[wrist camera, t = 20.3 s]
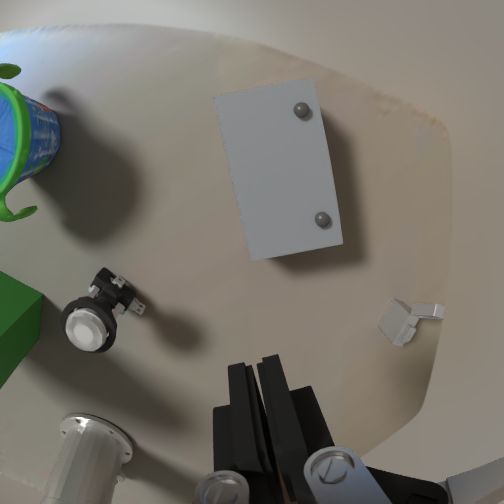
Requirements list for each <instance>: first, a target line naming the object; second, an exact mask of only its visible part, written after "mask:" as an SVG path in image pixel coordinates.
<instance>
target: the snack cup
mask: <svg viewBox="0 0 504 504" xmlns="http://www.w3.org/2000/svg"><path fill="white" fill-rule="evenodd" d="M20 72H21V68H20V67H19V66H17V65H13V64H7V63H2V64H0V78H2V79H11V78H13V77H15V76H17V75H18V74H19V73H20ZM60 133H61V132H60V127H59V123H58V120H57V116H56V115H55V113H54V112H53V111H51V110H50V109H49V108H48V107H46V106H45V105H43V104H41V103H39V102H37V101H35V100H32V99H30V98H28V97H26V96H24V95H22V94H21V93H20V92H19V91H18V90H16V89H15V88H14V87H12V86H10V85H7V84H5V83H1V82H0V221H3V222H11V221H15V220H18V219H22V218H25V217H27V216H30V215H31V214H33V213H34V212H35V211H36V210H37V206H31V207H27V208H24V209H22V210H20V212H19V213H18V214H16V215H14V214H13V213H12V212H11V211H10V210H9V209H8V208H7V207H6V204H5V196H6V194H7V193H8V192H9V191H10V190H11V189H12V188H13V187H14V186H15V185H16V184H18V183H20V182H22V181H23V180H25V179H27V178H29V177H31V176H33V175H34V174H36V173H38V172H40V171H42V170H43V169H44V168H45V167H46V166H47V165H48V164H50V162H51V161H52V160H53V158H54V156H55V154H56V152H57V151H58V150H59V146H60Z"/></svg>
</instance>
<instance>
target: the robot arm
mask: <svg viewBox="0 0 504 504" xmlns="http://www.w3.org/2000/svg"><path fill="white" fill-rule="evenodd" d="M262 360H263V362H262V363H258V364H257V369H258V374H259V379H260V384H261V389H262V394H263V399H264V404H265V409H266V412H265V409H264V405H263V402H262V399H261V395H260V392H259V388H258V385H257V382H256V378H255V375H254V371H253V368H252V365H249V366H245V363H244V362H243V363H238V364H234V365H229V366H228V379H229V394H230V405H226V406H220V407H215V408H214V409H213V452H214V472H213V473H211V474H208V475H207V476H205V477H204V478H202V479H201V480H200V481H199V483H198V484H197V486H196V488H195V491H194V495H193V500H192V504H285V499H284V494H283V489H282V485H281V480H280V475H279V471H278V466H279V469H280V472H281V475H282V478H283V481H284V484H285V487H286V490H287V493H288V496H289V499H290V502H291V503H292V502H296V501H297V503H298V504H504V458H500V459H498V460H495V461H493V462H490V463H488V464H485V465H483V466H480V467H477V468H475V469H472V470H469V471H466V472H463V473H460V474H458V475H454V476H451V477H448V478H447V479H446V481H443V482H439V483H434V482H430V481H425V480H420V479H416V478H411V477H407V476H402V475H398V474H394V473H390V472H386V471H382V470H378V469H374V468H371V467H367V466H365V465H364V464H363V462H362V461H361V459H360V458H359V456H358V455H357V454H356V453H355V452H354V451H352V450H350V449H348V448H346V447H340V446H335V445H334V442H333V440H332V437H331V435H330V432H329V430H328V427H327V425H326V422H325V420H324V417H323V414H322V412H321V409H320V407H319V404H318V402H317V399H316V397H315V394H314V392H313V389H312V387H311V386H307V387H303V388H300V389H296V390H292V391H289V388H288V385H287V382H286V378H285V375H284V372H283V369H282V365H281V362H280V359H279V355H278V354H277V355H273V356H268V357H264V358H262ZM266 414H267V415H266ZM60 433H61V436H62V437H63V439H64V442H63V445H62V447H61V450H60V452H59V455H58V457H57V460H56V462H55V465H54V467H53V470H52V472H51V475H50V477H49V480H48V483H47V485H46V488H45V491H44V493H43V496H42V499H41V502H40V504H111V502H112V497H113V493H114V488H115V485H116V484H117V483H118V480H119V481H121V482H122V481H124V480H125V479H126V478H125V476H124V475H123V474H122V473H121V468H122V464H125V463H127V462H128V461H129V460H130V459H131V458H132V454H133V446H132V443H131V441H130V440H129V439H128V437H127V436H126V435H125V434H124V433H123V432H122V431H121V430H119V429H118V428H117V427H115V426H114V425H112V424H110V423H108V422H107V421H105V420H102V419H100V418H97V417H94V416H91V415H85V414H72V415H69V416H66V417H65V418H64V419H63V421H62V423H61V425H60ZM276 460H277V461H276ZM277 463H278V466H277ZM117 479H118V480H117Z"/></svg>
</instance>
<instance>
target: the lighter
mask: <svg viewBox="0 0 504 504" xmlns="http://www.w3.org/2000/svg"><path fill="white" fill-rule="evenodd" d="M445 310H446V307H444V306H442V305H439V304H432V303H413V306H412V310H411V309H409V308H408V307H407V306H406V305H405V304H404V303H403V302H402V301H400V300H397V299H393V300H392V301H391V303H390V305H389V307H388V309H387V310H386V312H385V314H384V316H383V318H382V319H381V321H380V323H379V324H378V327H379V328H380V329H381V331H382V332H383V333H384V334H385V336H386V337H387V338H388V339H389V341H390V342H391V343H392V345H395V346H399V347H402V346H403V345H404V343H406V342H410V340H411V338H412V337H413V335H414V333H415V332H416V328H415V325H416V323H417V322H418V320H419V318H427V319H441V320H443V319H444V315H445Z"/></svg>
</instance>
